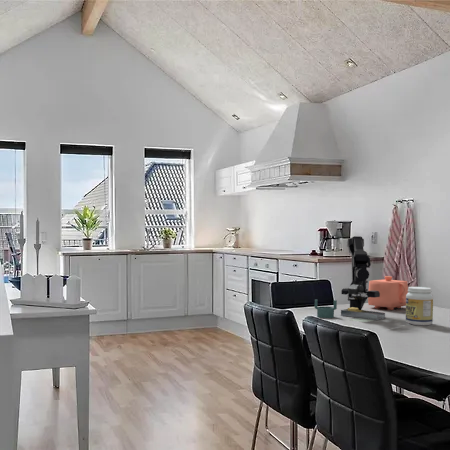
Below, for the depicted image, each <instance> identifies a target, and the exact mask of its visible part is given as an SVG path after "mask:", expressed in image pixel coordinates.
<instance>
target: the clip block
mask: <svg viewBox="0 0 450 450" xmlns="http://www.w3.org/2000/svg"><path fill="white" fill-rule="evenodd" d="M347 309H348V311H355V312H361V310H362V309H361V310H359V309H358V308H354V307H351V308H350V307H347Z"/></svg>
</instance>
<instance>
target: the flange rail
mask: <svg viewBox="0 0 450 450" xmlns="http://www.w3.org/2000/svg"><path fill="white" fill-rule="evenodd" d="M340 316H343V317H349V318H361V319H369V320H374V321H379V320H384V319H386V312H382V311H375V310H373V311H372V310H366V309H361V312H355V311H348V308H346V309H340Z"/></svg>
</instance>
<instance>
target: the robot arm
mask: <svg viewBox="0 0 450 450" xmlns="http://www.w3.org/2000/svg"><path fill="white" fill-rule="evenodd" d="M346 243H347V245H346V247H347V251H348V253H349V254H350V255H351V283H350V284H349V286H348V287H344V288H341V291H340V294H341V295H347V296H346V297H347V301H349V308H351V307H354V308H358V309H359V310H363V308H364V305H365V303H366V301H367V300H368V297H380V293H379V291H373V290H372V291H369V288H367V283H368V284H369V280H368V279H369V277H370V272H369V270H368V269H367V268H370V267H371V265H372V264H371V258H370V256H369V254H368V253H367V250H366V251H365V249H364V247H365V238H363V237H362V236H359V235H357V236H356V235H355V236H352V237H350V238H347V242H346Z"/></svg>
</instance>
